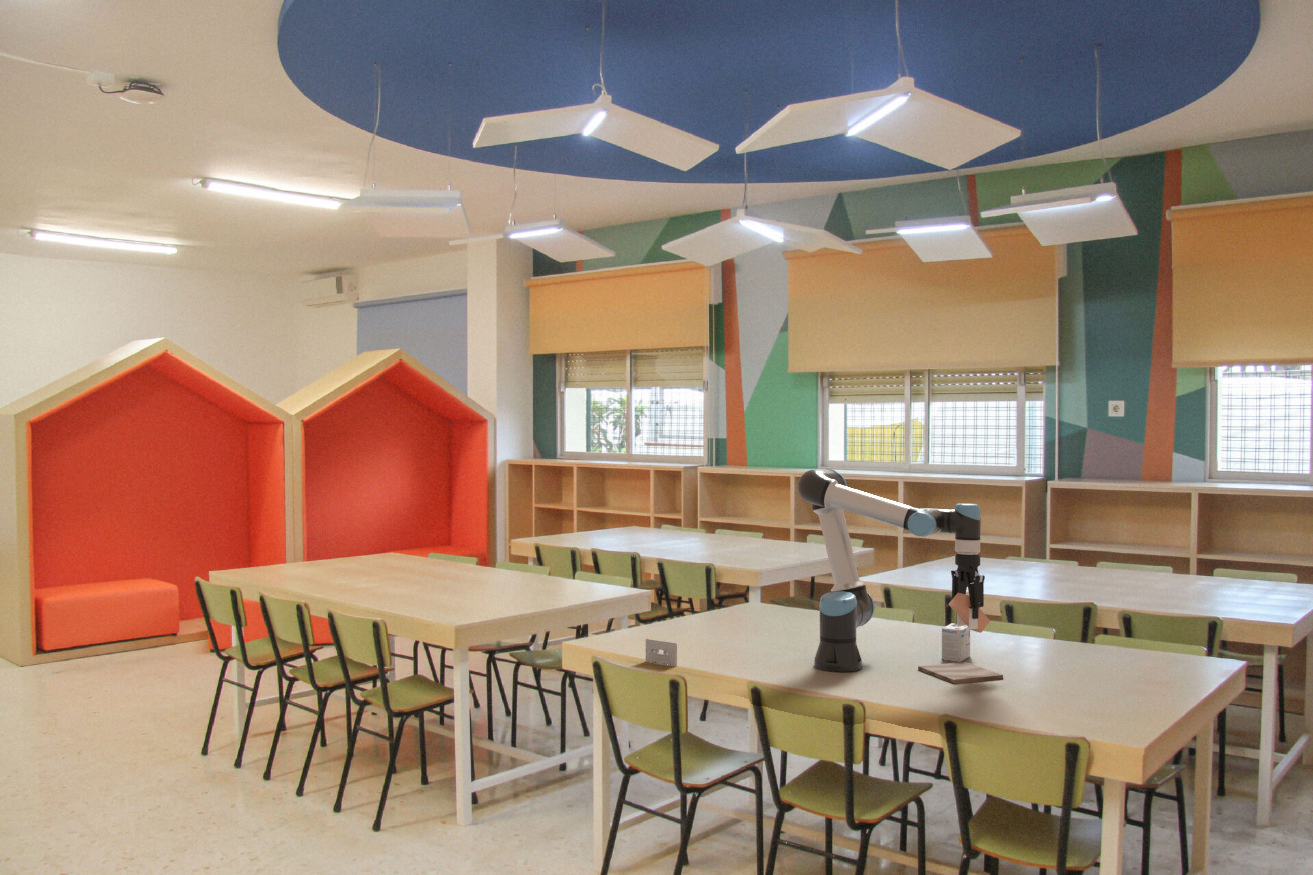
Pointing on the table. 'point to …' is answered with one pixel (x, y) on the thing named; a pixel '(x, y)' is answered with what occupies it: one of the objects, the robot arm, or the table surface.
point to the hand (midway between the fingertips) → (967, 626)
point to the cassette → (661, 658)
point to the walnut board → (960, 672)
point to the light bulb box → (955, 642)
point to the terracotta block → (967, 611)
